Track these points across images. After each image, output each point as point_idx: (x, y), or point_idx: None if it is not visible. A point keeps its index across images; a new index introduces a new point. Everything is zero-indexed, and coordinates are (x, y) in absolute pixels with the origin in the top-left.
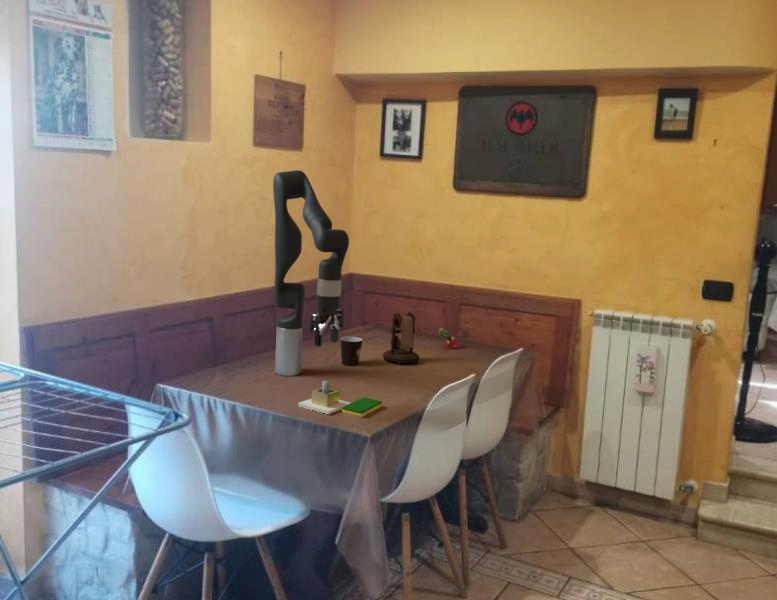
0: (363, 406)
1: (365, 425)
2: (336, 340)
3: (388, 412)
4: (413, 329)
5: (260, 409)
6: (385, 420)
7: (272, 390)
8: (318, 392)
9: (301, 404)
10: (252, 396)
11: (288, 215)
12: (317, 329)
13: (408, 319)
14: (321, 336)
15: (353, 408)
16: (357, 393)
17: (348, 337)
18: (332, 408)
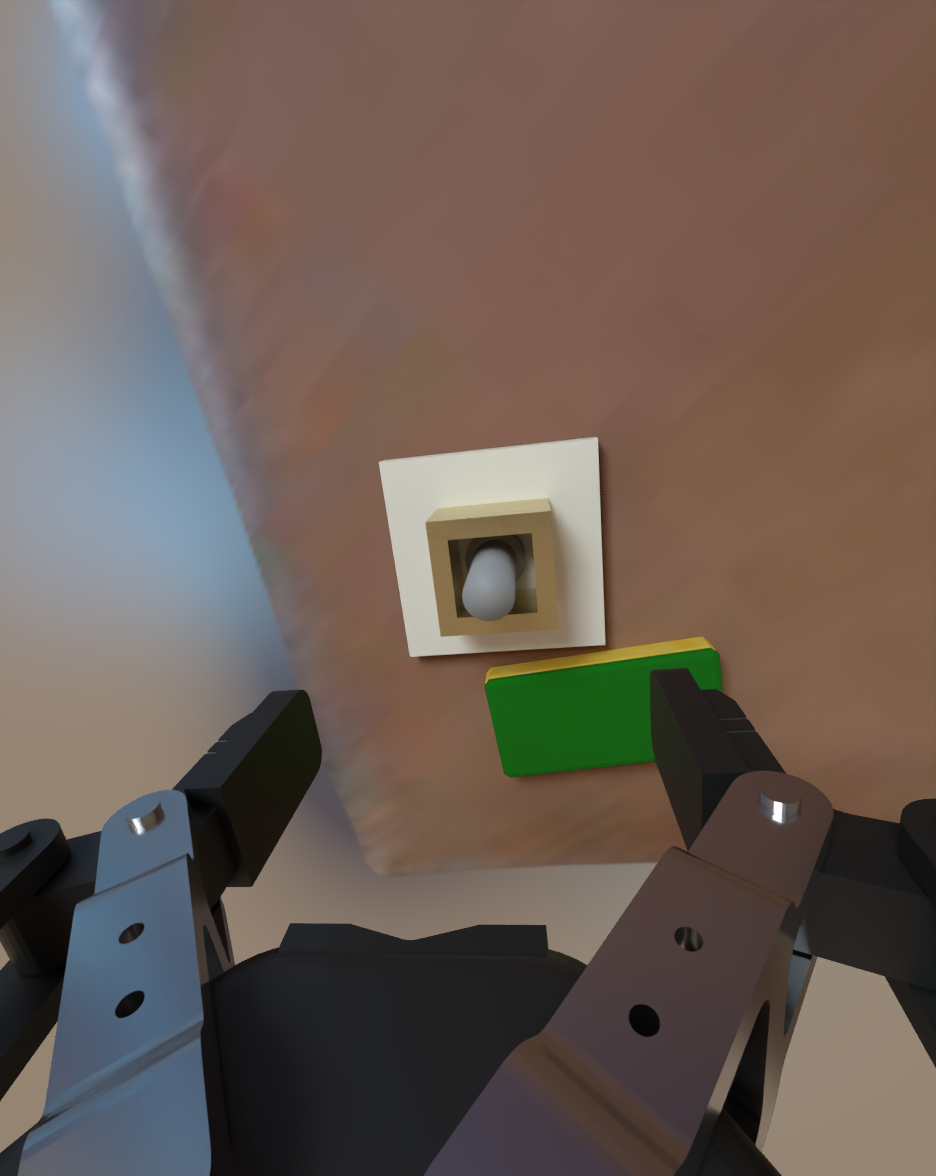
0: (575, 742)
1: (445, 818)
2: (660, 765)
3: (664, 794)
4: None
5: (191, 362)
6: (559, 837)
7: (480, 66)
8: (432, 572)
9: (383, 485)
10: (284, 103)
11: None
12: (26, 1011)
13: None
14: (252, 866)
15: (512, 729)
16: (847, 506)
17: None
18: (459, 639)
